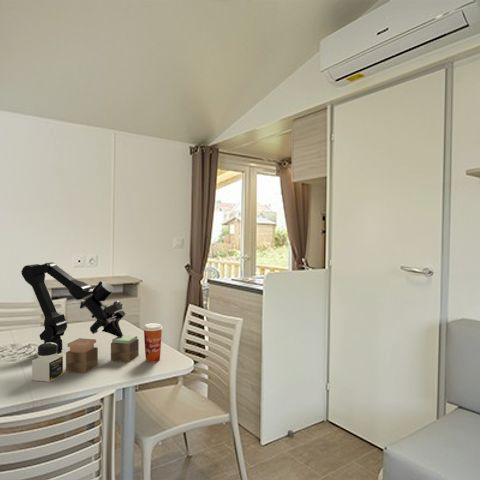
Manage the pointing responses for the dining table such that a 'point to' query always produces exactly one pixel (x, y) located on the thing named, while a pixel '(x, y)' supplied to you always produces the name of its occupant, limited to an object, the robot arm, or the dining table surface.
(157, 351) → the paper cup
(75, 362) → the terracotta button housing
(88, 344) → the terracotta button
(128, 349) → the block
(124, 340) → the sage button
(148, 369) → the dining table surface
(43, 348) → the medicine bottle
